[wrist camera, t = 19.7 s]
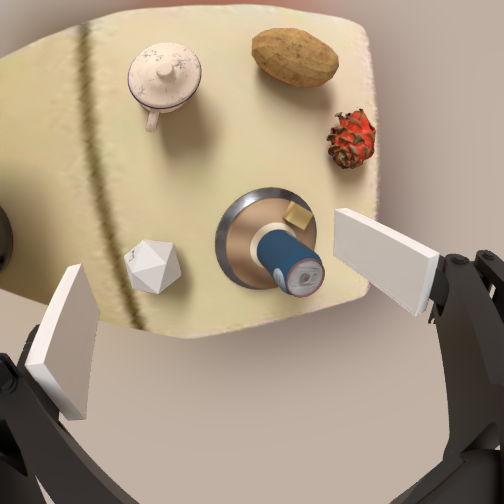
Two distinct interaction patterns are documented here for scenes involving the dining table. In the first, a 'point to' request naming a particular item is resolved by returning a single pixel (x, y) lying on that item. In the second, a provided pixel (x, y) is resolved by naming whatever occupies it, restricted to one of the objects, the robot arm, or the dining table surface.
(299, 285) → the soda can
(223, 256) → the turntable base
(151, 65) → the teacup with lid
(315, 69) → the potato
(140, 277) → the die
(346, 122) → the dragon fruit
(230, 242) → the turntable
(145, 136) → the dining table surface
